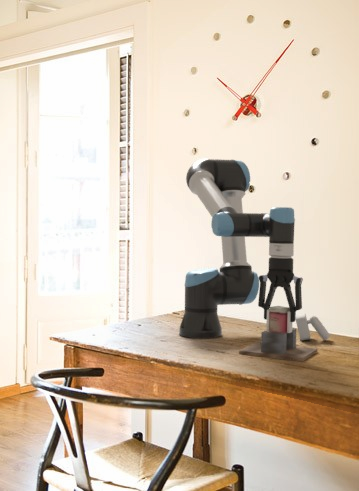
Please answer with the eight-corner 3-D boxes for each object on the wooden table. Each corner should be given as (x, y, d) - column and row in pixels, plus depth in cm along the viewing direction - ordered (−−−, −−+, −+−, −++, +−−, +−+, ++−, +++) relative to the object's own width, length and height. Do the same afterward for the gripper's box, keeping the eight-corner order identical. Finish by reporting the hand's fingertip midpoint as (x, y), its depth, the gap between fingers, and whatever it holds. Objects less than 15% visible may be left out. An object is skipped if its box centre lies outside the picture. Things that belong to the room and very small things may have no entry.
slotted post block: (239, 353, 196) (239, 331, 196) (257, 344, 210) (258, 323, 210) (302, 361, 187) (302, 337, 187) (317, 351, 201) (318, 329, 201)
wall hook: (331, 341, 216) (325, 312, 216) (301, 346, 218) (295, 318, 218) (331, 337, 224) (325, 309, 224) (301, 342, 226) (295, 314, 226)
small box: (268, 331, 199) (268, 306, 199) (277, 330, 202) (278, 305, 201) (280, 334, 195) (281, 308, 195) (290, 332, 198) (290, 307, 198)
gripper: (247, 256, 199) (246, 329, 200) (307, 259, 190) (305, 336, 191) (256, 255, 205) (254, 326, 206) (314, 257, 196) (312, 332, 197)
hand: (279, 331), depth 198 cm, fingers closed on small box, 6 cm apart
